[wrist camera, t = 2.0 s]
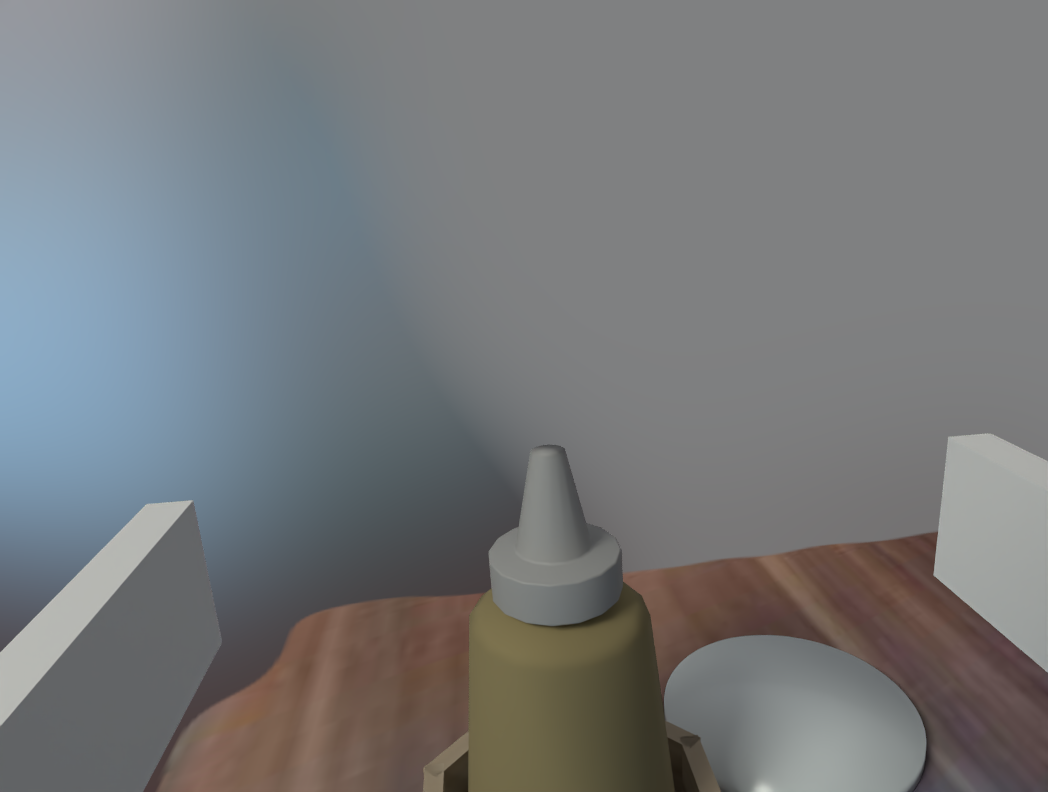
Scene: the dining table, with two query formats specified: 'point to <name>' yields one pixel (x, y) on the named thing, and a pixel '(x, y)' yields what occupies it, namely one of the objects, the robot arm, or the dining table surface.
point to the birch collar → (687, 755)
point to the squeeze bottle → (562, 656)
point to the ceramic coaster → (796, 718)
